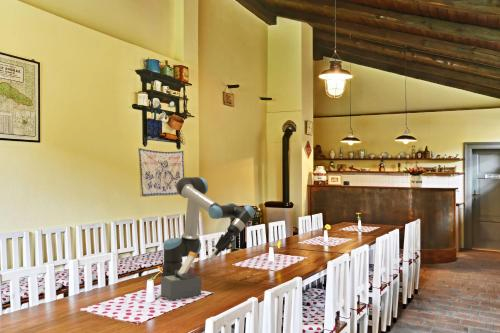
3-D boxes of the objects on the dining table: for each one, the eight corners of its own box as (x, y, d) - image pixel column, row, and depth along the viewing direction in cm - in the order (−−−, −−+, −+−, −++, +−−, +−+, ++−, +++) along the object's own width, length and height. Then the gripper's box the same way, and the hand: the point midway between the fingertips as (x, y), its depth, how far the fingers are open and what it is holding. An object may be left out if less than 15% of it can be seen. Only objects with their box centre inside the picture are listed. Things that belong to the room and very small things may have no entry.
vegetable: (183, 293, 262) (177, 269, 259) (181, 286, 272) (176, 263, 269) (201, 287, 264) (195, 264, 262) (198, 281, 274) (193, 258, 271)
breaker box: (160, 295, 246) (161, 271, 246) (190, 290, 256) (190, 267, 256) (170, 300, 235) (170, 276, 235) (201, 295, 245) (201, 272, 245)
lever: (176, 274, 248) (189, 251, 253) (178, 275, 249) (192, 252, 254) (181, 276, 242) (195, 253, 247) (184, 278, 243) (198, 254, 248)
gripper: (245, 233, 261) (220, 265, 252) (233, 230, 272) (209, 261, 262) (238, 224, 258) (212, 256, 249) (226, 222, 269) (201, 253, 260)
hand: (211, 258), depth 256 cm, fingers closed
